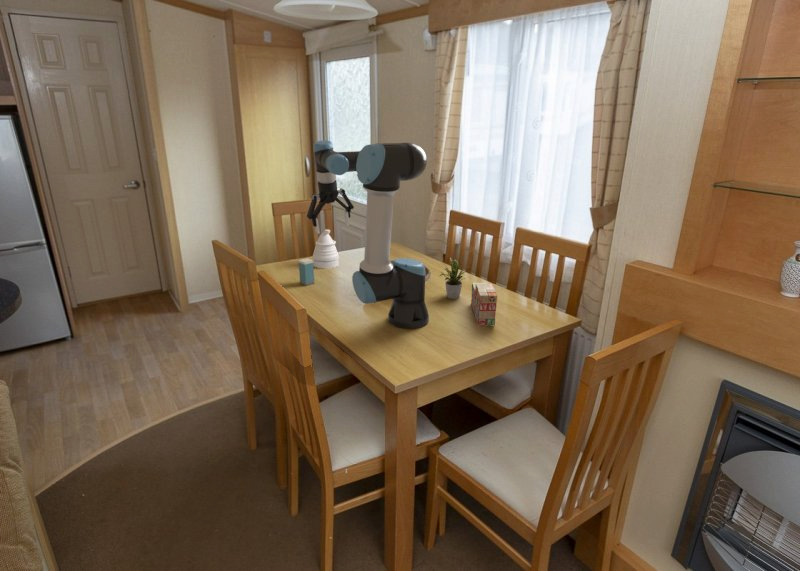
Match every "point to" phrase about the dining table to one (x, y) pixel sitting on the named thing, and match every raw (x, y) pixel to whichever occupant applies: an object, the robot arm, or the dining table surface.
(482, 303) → the stack of blocks
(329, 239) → the honey pot
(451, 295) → the house plant
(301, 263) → the pillar
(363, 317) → the dining table surface
